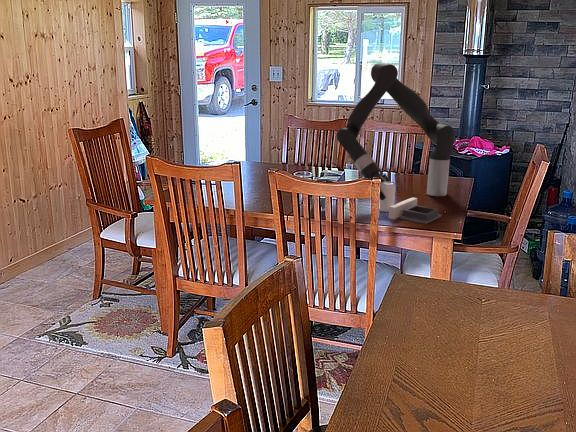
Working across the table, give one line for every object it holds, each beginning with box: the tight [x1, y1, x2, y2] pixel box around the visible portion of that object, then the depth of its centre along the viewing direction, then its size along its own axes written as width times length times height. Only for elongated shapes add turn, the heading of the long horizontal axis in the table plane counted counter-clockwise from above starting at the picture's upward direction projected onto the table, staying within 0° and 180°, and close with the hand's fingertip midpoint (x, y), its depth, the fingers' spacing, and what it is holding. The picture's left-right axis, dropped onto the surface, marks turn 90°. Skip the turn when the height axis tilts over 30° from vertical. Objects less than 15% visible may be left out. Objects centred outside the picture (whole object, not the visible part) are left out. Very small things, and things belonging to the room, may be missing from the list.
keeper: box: [398, 204, 442, 225], centre depth 235 cm, size 14×12×3 cm
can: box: [379, 181, 396, 213], centre depth 244 cm, size 6×6×12 cm
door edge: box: [388, 197, 418, 220], centre depth 240 cm, size 20×2×5 cm, turn 141°
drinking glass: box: [310, 178, 335, 209], centre depth 244 cm, size 10×10×12 cm
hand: (389, 197), depth 243 cm, fingers open, 8 cm apart
